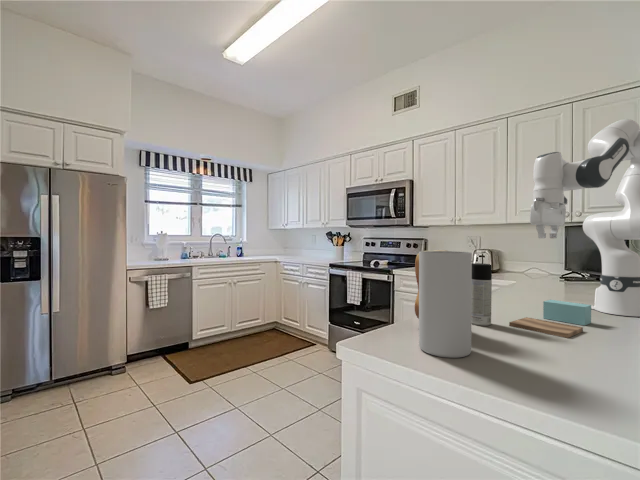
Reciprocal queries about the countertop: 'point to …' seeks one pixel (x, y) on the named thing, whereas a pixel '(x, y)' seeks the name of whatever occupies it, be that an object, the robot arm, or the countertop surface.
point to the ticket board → (547, 327)
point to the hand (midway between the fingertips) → (547, 238)
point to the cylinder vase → (445, 303)
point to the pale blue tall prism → (567, 312)
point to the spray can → (481, 294)
